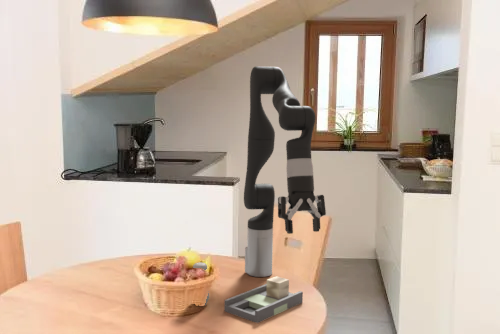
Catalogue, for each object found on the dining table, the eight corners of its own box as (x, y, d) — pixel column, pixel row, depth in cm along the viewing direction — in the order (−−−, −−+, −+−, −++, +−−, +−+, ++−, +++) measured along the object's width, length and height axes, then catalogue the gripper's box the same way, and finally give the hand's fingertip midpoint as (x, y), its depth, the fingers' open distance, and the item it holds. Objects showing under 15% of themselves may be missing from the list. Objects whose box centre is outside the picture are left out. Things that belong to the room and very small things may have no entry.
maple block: (266, 295, 171) (266, 279, 171) (276, 291, 175) (276, 276, 175) (278, 299, 168) (279, 283, 168) (288, 294, 172) (288, 279, 171)
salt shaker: (206, 308, 165) (206, 267, 163) (188, 306, 166) (188, 265, 165) (211, 301, 171) (211, 261, 169) (193, 300, 172) (194, 260, 170)
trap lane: (224, 311, 163) (224, 300, 163) (270, 292, 180) (270, 282, 179) (257, 323, 155) (257, 311, 154) (302, 302, 171) (302, 291, 171)
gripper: (314, 175, 161) (317, 230, 160) (271, 176, 155) (274, 233, 154) (328, 173, 154) (331, 231, 153) (284, 174, 148) (287, 234, 147)
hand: (303, 232), depth 153 cm, fingers open, 8 cm apart
